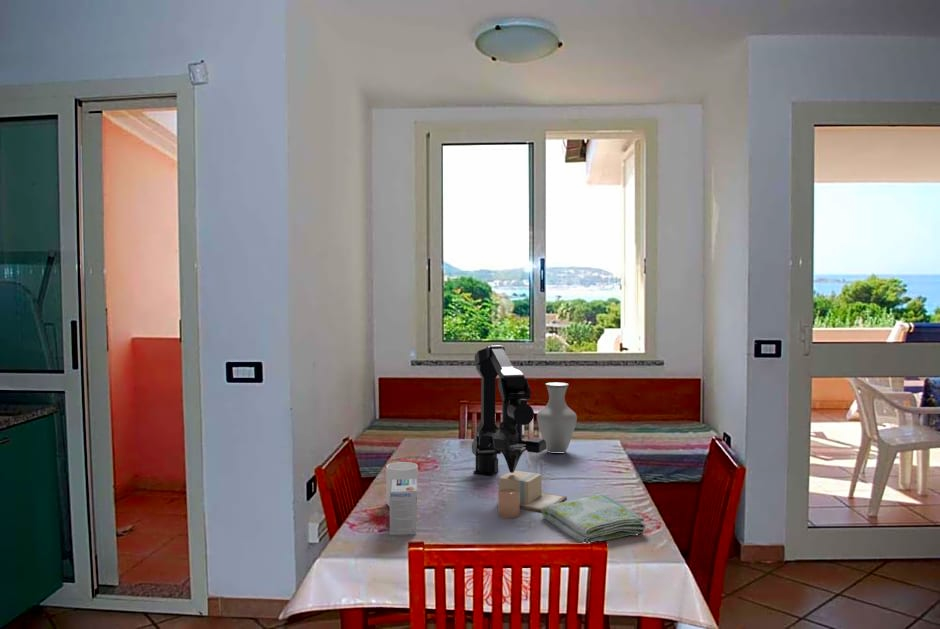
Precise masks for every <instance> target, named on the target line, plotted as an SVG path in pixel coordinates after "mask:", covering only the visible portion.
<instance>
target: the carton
mask: <svg viewBox="0 0 940 629" xmlns="http://www.w3.org/2000/svg"><path fill="white" fill-rule="evenodd" d="M542 478H543V477H542V474H541V473H538V472H537V473H536V472H528V471H523V470H522V471H521V470H515V471H514V472H513V473H510V471H509V472H507V473H505V474H504V475H502V476H500V477H498V492H499V491H500V490H504V489H513V490H517V491H519V492H520V503H526V504H529V503H531V502H532V501H534V500H535V499H537V498H538V497H539V496H541V495H542V493H543V492H542V491H543V490H542V484H543V483H542Z"/></svg>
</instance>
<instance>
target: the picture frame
mask: <svg viewBox="0 0 940 629" xmlns="http://www.w3.org/2000/svg"><path fill="white" fill-rule="evenodd" d="M567 497H568V496H565V495H557V494H552V493H546V492H542V495H541V496H539V497H538V498H537V499H535V500H534V501H532V502H531V503H529V504H526V503H520V509H521V510H527V511H533V512H539V513H542V508H544V507H546V506H548V505H553V504H556V503H561V502H565V501H567V499H568V498H567Z"/></svg>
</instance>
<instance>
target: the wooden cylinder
mask: <svg viewBox="0 0 940 629" xmlns="http://www.w3.org/2000/svg"><path fill="white" fill-rule="evenodd" d="M497 500H498V502H497V503H498V506H497V507H498V509H497V510H498V514H497V515H498V517H500V518H503V519H516V518H519V517H520V516H521V512H520V511H521V510H520V509H521V508H520V492H519V491H517V490H513V489H504V490H500V491H499V490H498V499H497Z"/></svg>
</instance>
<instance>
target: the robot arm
mask: <svg viewBox="0 0 940 629" xmlns="http://www.w3.org/2000/svg"><path fill="white" fill-rule="evenodd" d="M505 349H506V348H505V346H504V345H502V344H501V345H497V344H496V345H489V346H486V347H485V348H483V349H480V350H477V352H476V353H475V355H474V364H475V370H476V371H477V372H478V374H479V376H480V379H481V380H480V384H481V385H480V423H479V425H478V426H477V428H476V429H475V436H474V438H473V440H472V444H471V453H472V454H473V455H474V456H475V470H473V471H472V473H473V472H474V473H473V474H477V473H480V474H479V475H484V474H487V475H486V476H492V475H494V474H496V473H498V472H499V471H500V469H499V458H498V455H501V454H502V455H503V457H504V459H505V462H506V465H507V468H508V471H509V472H510V473H513V472H514V471H516V468H517V466H518V463H519V461H520V459H521V457H522V455H523V454H524V452H525V451H527V453H535V454H539V453H542V452H543V451H545V450H547V449H546V441H545V440H544V439H542V438H539V437H531V438H530V439H528V440H525V434H523V426H526V425H528V424H530V423H531V422H532V420H533V419H534V416H535V412H534V409H533V407H532V406H531V405H529V404H528V400H531V394H532V391H531V388H530V384H529V382H528V380H527V377H525V375H524V373H523V372H522V371H521V370H520V369H517V368H515V367H514V366H513V364H512V362H511V360H510V359H509V357H508V355H507V353H506V350H505ZM497 377H498V379H497ZM496 380H497V381H496ZM496 382H497V386H496ZM496 387H497V388H498V391H499V394H500V397H501V399H502V403H501V408H502V411H501V413H502V414H501V415H502V416H501V421H500V422H499V428H498V426H497V424H496ZM498 470H499V471H498ZM497 471H498V472H497ZM495 472H496V473H495ZM493 473H494V474H493ZM491 474H492V475H491Z"/></svg>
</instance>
